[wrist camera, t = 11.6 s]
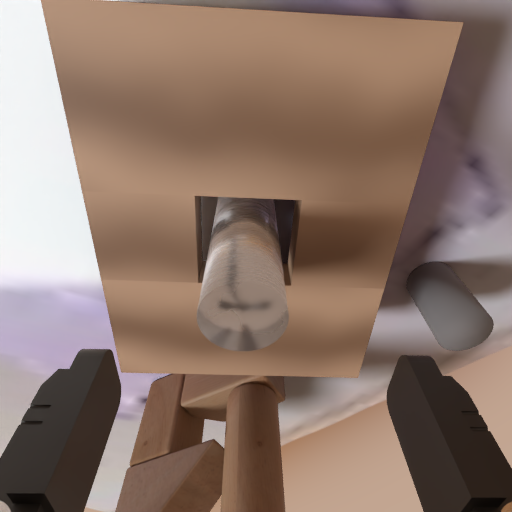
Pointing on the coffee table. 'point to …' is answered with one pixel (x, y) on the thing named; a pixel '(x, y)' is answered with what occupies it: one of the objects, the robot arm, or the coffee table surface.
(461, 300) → the short pin
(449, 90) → the coffee table surface
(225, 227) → the long pin
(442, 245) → the coffee table surface
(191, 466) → the brown angled frame
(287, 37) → the brown block with hole
